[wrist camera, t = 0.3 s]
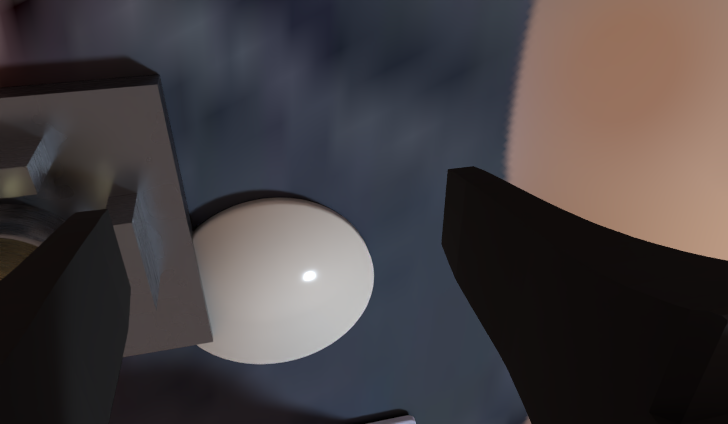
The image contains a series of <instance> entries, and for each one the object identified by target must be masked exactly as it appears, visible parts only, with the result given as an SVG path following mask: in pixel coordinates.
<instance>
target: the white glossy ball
mask: <svg viewBox="0 0 728 424" xmlns="http://www.w3.org/2000/svg"><path fill="white" fill-rule="evenodd" d="M193 244H194V249H195V253H196V258H197V263H198V267H199V272H200V276H201V281H202V286H203V290H204V295H205V300H206V304H207V309H208V314H209V318H210V323H211V327H212V332H213V342H210V343H204V344H198V345H197V346H199V347H200V348H202V349H203V350H205V351H207V352H209V353H211V354H213V355H216V356H218V357H221V358H224V359H227V360H231V361H235V362H241V363H248V364H273V363H281V362H287V361H291V360H295V359H299V358H302V357H305V356H308V355H310V354H313V353H315V352H317V351H319V350H321V349H323V348H325V347H327V346H329V345H330V344H332V343H333V342H335V341H336V340H338V339H339V338H340V337H341V336H343V335H344V334H345V333H346V332H347V331H348V330H349V329H350V328H351V327H352V326H353V325H354V324H355V323H356V322H357V320H358V319H359V318H360V316H361V315H362V313H363V312H364V310H365V308H366V306H367V304H368V302H369V299H370V297H371V293H372V289H373V281H374V271H373V264H372V260H371V256H370V254H369V251H368V249H367V247H366V244H365V242H364V240H363V238H362V237H361V235H360V234H359V232H358V231H357V229H356V228H355V227H354V226H353V225H352V224H351V223H350V222H349V221H348V220H346V219H345V218H344V217H343V216H341V215H340V214H338V213H337V212H335V211H333V210H332V209H330V208H327V207H325V206H323V205H320V204H318V203H314V202H311V201H307V200H302V199H295V198H280V197H277V198H263V199H258V200H252V201H248V202H244V203H241V204H238V205H235V206H232V207H230V208H228V209H225V210H223V211H221V212H219V213H217V214H216V215H214V216H212V217H210V218H209V219H208V220H206V221H205V222H204V223H202V224H201V225H200V226H198V227H197V228H196V229H195V230H194V231H193Z"/></svg>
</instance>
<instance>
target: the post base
mask: <svg viewBox="0 0 728 424" xmlns="http://www.w3.org/2000/svg"><path fill="white" fill-rule="evenodd" d="M101 209H108V211H109V214H110V217H111V221H112V224H113V228H114V231H115V235H116V238H117V241H118V245H119V248H120V252H121V255H122V259H123V262H124V266H125V269H126V272H127V276H128V279H129V283H130V286H131V296H130V315H129V328H128V334H127V339H126V344H125V349H124V354H123V357H127V356H133V355H139V354H145V353H151V352H157V351H163V350H169V349H174V348H180V347H186V346H192V345H198V344H204V343H210V342H213V332H212V327H211V323H210V318H209V314H208V309H207V304H206V300H205V295H204V290H203V286H202V281H201V276H200V272H199V267H198V263H197V258H196V253H195V249H194V244H193V230H192V225H191V220H190V216H189V211H188V206H187V201H186V197H185V192H184V187H183V183H182V178H181V173H180V169H179V164H178V159H177V155H176V150H175V145H174V140H173V136H172V131H171V126H170V122H169V117H168V112H167V108H166V103H165V98H164V94H163V89H162V84H161V79H160V75H148V76H136V77H124V78H112V79H100V80H88V81H77V82H65V83H53V84H41V85H29V86H17V87H5V88H0V238H9V239H14V240H19V241H23V242H26V243H30V244H33V245H35V246H38V247H39V246H40V245H41V244H42V243H43V242H44V241H45V240H46V239H47V238H48V237H49V236H50V235H51V234H52V233H53V232H54V231H55V230H56V229H57V228H59V227H60V226H61V225H62V224H63V223H64V222H65V221H66V220H67V219H68V218H69V217H71V216H72V215H73V214H74V213H76V212H83V211H92V210H101Z"/></svg>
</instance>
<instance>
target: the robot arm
mask: <svg viewBox="0 0 728 424" xmlns="http://www.w3.org/2000/svg"><path fill="white" fill-rule="evenodd" d="M441 244H442V247H443V249H444V252H445V254H446V257H447V260H448V262H449V265H450V267H451V269H452V272H453V274H454V277H455V279H456V281H457V283H458V284H459V286H460V288H461V290H462V291H463V293H464V295H465V296H466V298H467V300H468V302H469V303H470V305H471V307H472V308H473V310H474V312H475V314H476V315H477V317H478V319H479V320H480V322H481V324H482V325H483V327H484V329H485V330H486V332H487V334H488V335H489V337H490V339H491V341H492V342H493V344H494V346H495V347H496V349H497V351H498V352H499V354H500V356H501V358H502V360H503V362H504V364H505V365H506V367H507V369H508V371H509V373H510V376H511V378H512V380H513V382H514V385H515V387H516V389H517V391H518V393H519V396H520V398H521V400H522V402H523V405H524V407H525V409H526V412H527V414H528V416H529V419H530V421H531V424H728V261H726V260H721V259H716V258H711V257H706V256H702V255H697V254H693V253H688V252H684V251H680V250H677V249H673V248H669V247H665V246H662V245H658V244H654V243H651V242H647V241H644V240H641V239H638V238H634V237H631V236H629V235H626V234H623V233H620V232H617V231H614V230H612V229H608V228H606V227H603V226H600V225H597V224H595V223H593V222H590V221H588V220H585V219H583V218H581V217H578V216H576V215H574V214H572V213H569V212H567V211H565V210H562V209H560V208H558V207H556V206H554V205H552V204H550V203H548V202H546V201H543V200H541V199H540V198H537V197H536V196H534V195H532V194H529V193H528V192H526V191H524V190H522V189H520V188H518V187H516V186H514V185H512V184H510V183H508V182H506V181H504V180H502V179H500V178H498V177H496V176H494V175H492V174H490V173H488V172H486V171H484V170H482V169H479V168H477V167H474V166H472V167H464V168H455V169H448V174H447V185H446V197H445V208H444V220H443V232H442V243H441ZM130 296H131V286H130V283H129V279H128V276H127V272H126V269H125V266H124V262H123V259H122V255H121V252H120V248H119V245H118V241H117V238H116V235H115V231H114V228H113V224H112V221H111V217H110V214H109V211H108V209H101V210H92V211H83V212H76V213H74V214H73V215H72V216H71V217H69V218H68V219H67V220H66V221H65V222H64V223H63V224H62V225H61V226H60V227H59V228H57V229H56V230H55V231H54V232H53V233H52V234H51V235H50V236H49V237H48V238H47V239H46V240H45V241H44V242H43V243H42V244H41V245H40V246H39V247H37V248H36V249H35V250H34V251H33V252H32V253H31V254H30V255H29V256H28V257H27V258H26V259H24V260H23V261H22V262H21V263H20V264H19V265H18V266H17V267H16V268H15V269H14V270H12V271H11V272H10V273H9V274H8V275H7V276H5V277H4V278H3V279H2V280H1V281H0V424H108V423H109V419H110V414H111V409H112V405H113V400H114V396H115V391H116V386H117V382H118V377H119V372H120V368H121V363H122V358H123V354H124V349H125V344H126V339H127V334H128V328H129V315H130ZM367 424H416V422H415V419H414V417H413V416H410V415H406V416H401V417H396V418H392V419H387V420H382V421H377V422H372V423H367Z"/></svg>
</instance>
